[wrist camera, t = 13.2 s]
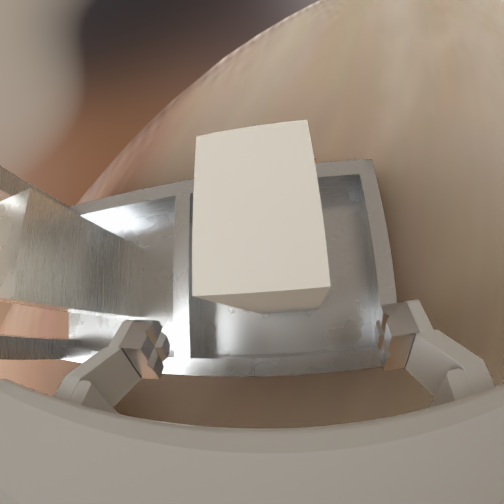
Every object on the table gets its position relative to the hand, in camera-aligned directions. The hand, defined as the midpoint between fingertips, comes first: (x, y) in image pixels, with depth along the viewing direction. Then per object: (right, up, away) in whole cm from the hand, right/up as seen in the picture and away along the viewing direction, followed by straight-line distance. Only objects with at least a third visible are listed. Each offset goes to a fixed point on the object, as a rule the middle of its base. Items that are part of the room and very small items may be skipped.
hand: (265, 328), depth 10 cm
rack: (-4, +1, +10) cm, 11 cm away
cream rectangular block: (+2, +1, +8) cm, 8 cm away
